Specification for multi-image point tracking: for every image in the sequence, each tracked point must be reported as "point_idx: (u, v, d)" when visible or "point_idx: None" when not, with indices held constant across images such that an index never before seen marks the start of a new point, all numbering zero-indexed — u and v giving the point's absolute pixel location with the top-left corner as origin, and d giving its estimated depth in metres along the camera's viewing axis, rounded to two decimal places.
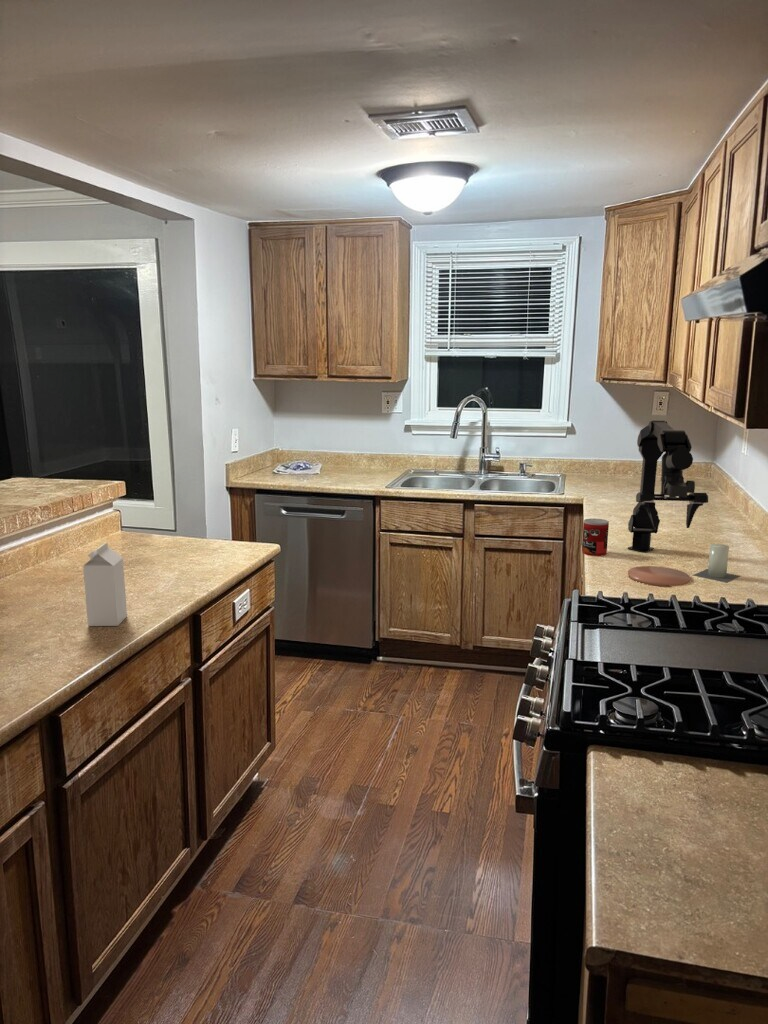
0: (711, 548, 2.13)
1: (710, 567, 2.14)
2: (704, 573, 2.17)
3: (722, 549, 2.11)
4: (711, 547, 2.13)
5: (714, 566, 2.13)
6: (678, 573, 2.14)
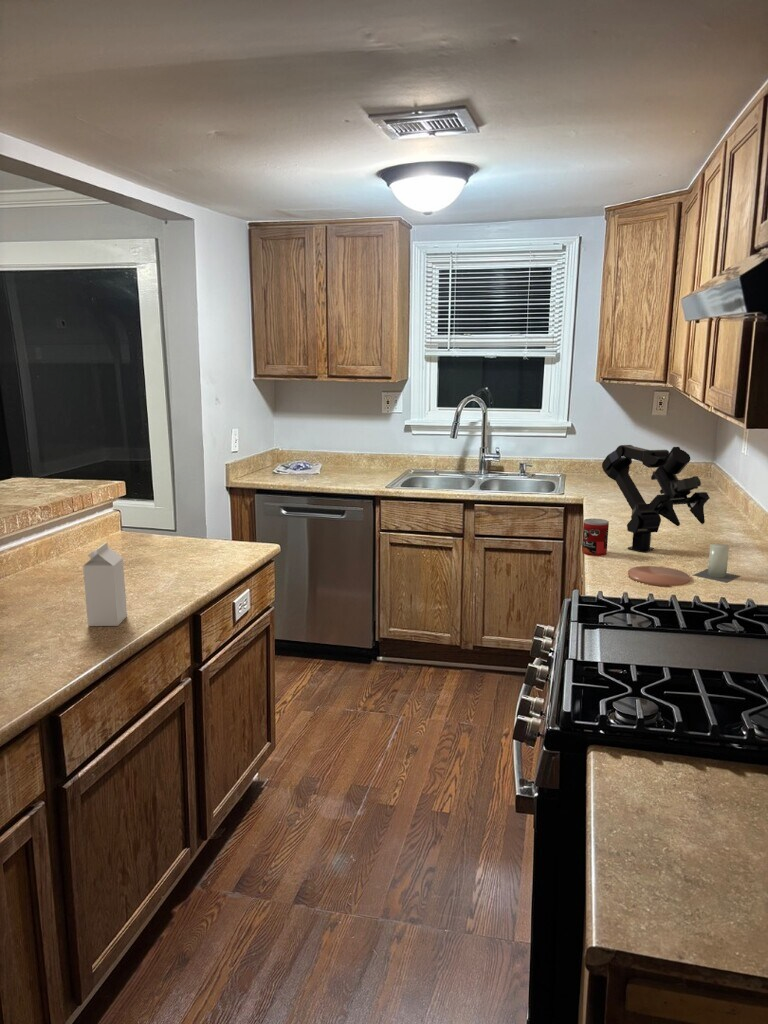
0: (711, 548, 2.13)
1: (710, 567, 2.14)
2: (704, 573, 2.17)
3: (722, 549, 2.11)
4: (711, 547, 2.13)
5: (714, 566, 2.13)
6: (678, 573, 2.14)
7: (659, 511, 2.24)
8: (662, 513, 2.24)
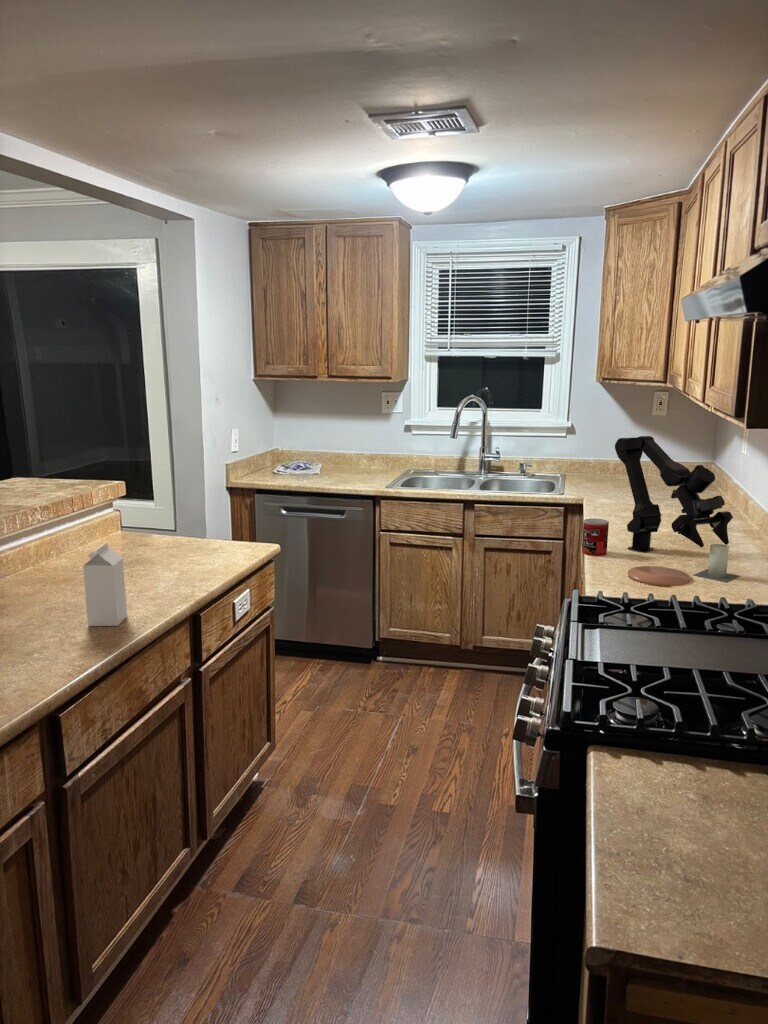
0: (711, 548, 2.13)
1: (710, 567, 2.14)
2: (704, 573, 2.17)
3: (722, 549, 2.11)
4: (711, 547, 2.13)
5: (714, 566, 2.13)
6: (678, 573, 2.14)
7: (682, 532, 2.17)
8: (685, 534, 2.17)
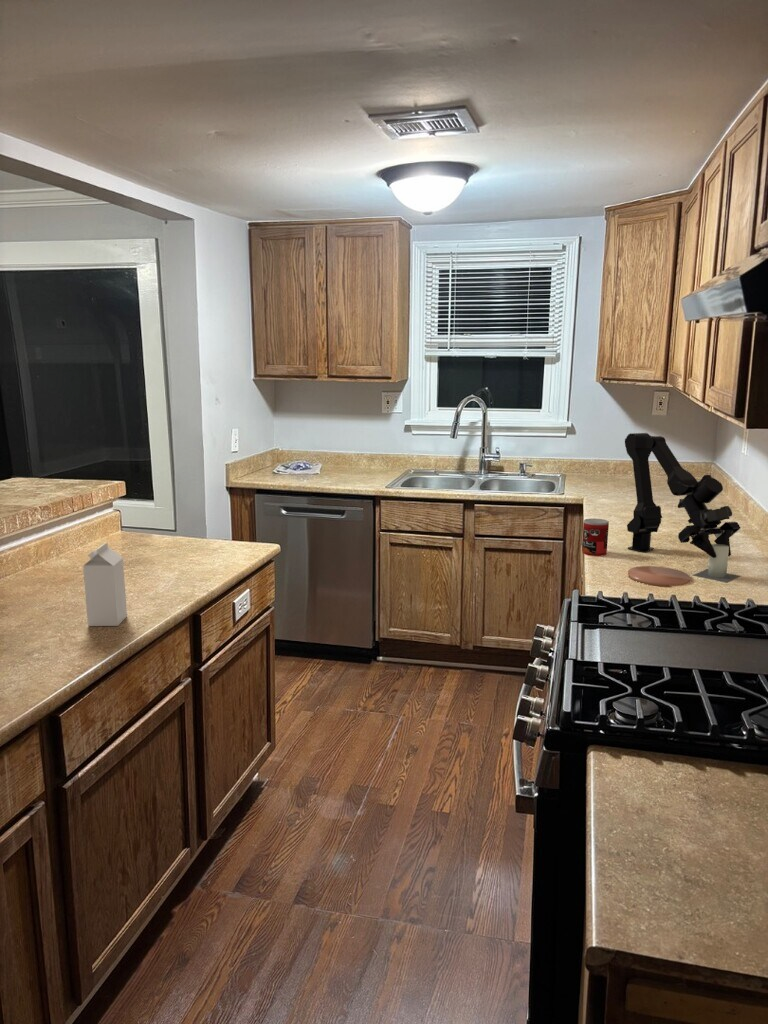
0: None
1: (710, 567, 2.14)
2: (704, 573, 2.17)
3: (722, 549, 2.11)
4: None
5: (714, 566, 2.13)
6: (678, 573, 2.14)
7: (694, 542, 2.16)
8: (697, 544, 2.16)
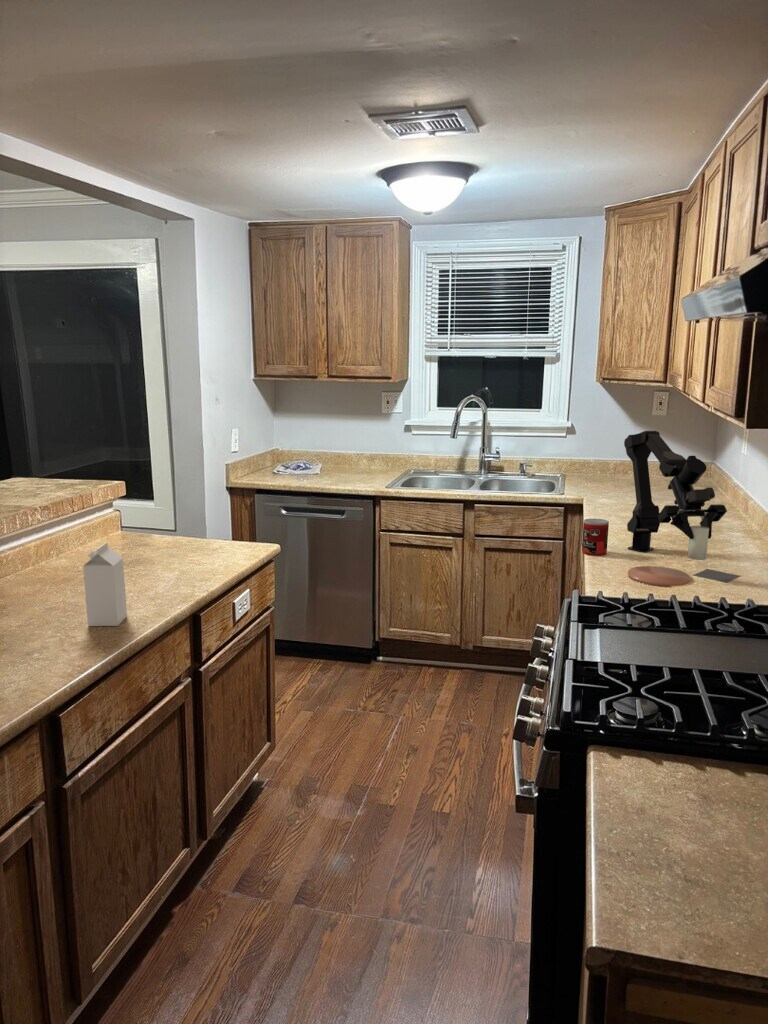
0: None
1: (689, 548, 2.12)
2: (704, 573, 2.17)
3: (700, 530, 2.08)
4: None
5: (692, 548, 2.10)
6: (678, 573, 2.14)
7: (674, 522, 2.14)
8: (677, 525, 2.14)
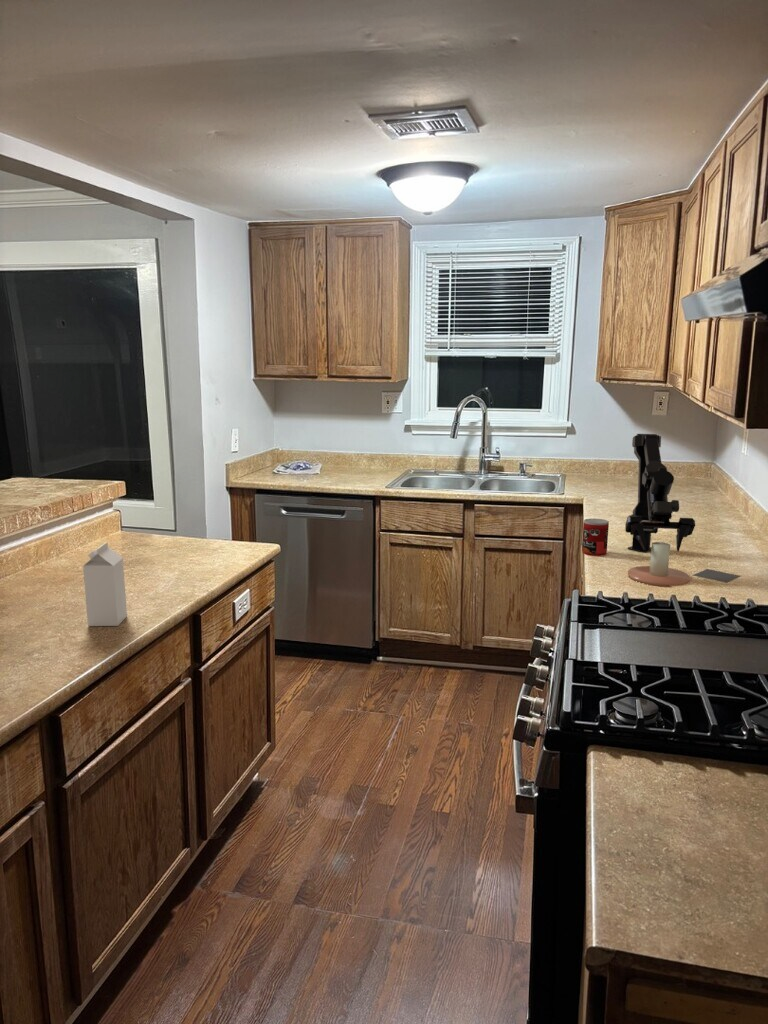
0: None
1: (650, 564, 2.14)
2: (704, 573, 2.17)
3: (658, 547, 2.10)
4: (652, 544, 2.13)
5: (652, 564, 2.12)
6: (678, 573, 2.14)
7: (633, 532, 2.17)
8: (636, 535, 2.17)
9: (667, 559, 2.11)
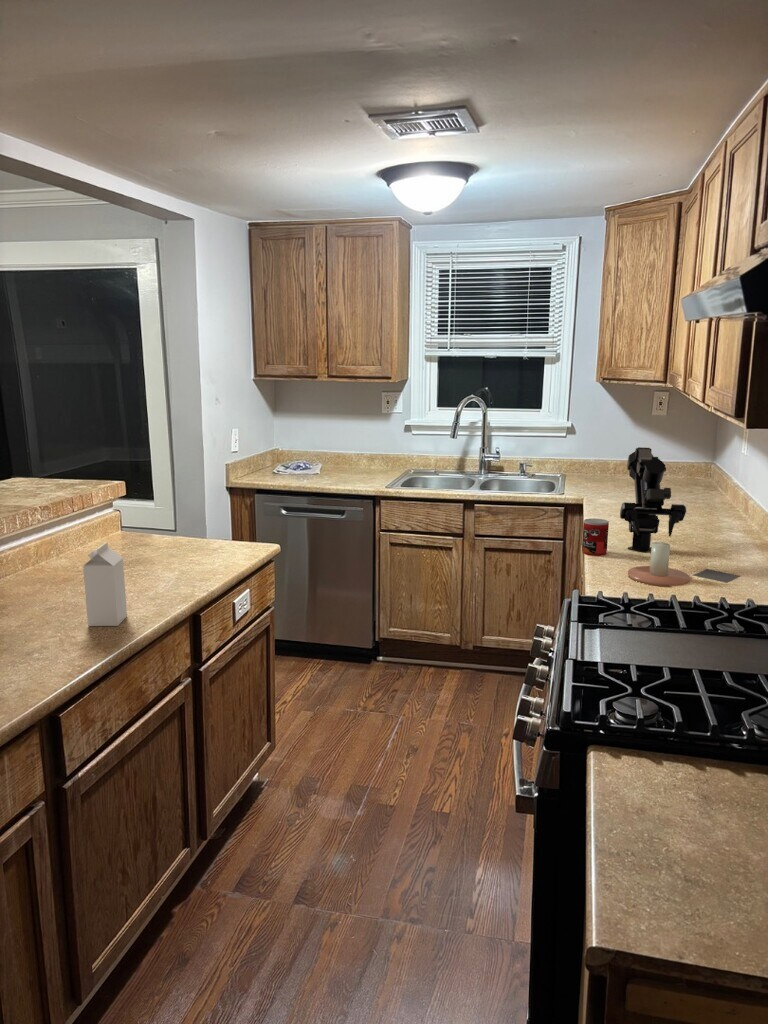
0: None
1: (650, 564, 2.14)
2: (704, 573, 2.17)
3: (658, 547, 2.10)
4: (652, 544, 2.13)
5: (652, 564, 2.12)
6: (678, 573, 2.14)
7: (627, 519, 2.28)
8: (630, 521, 2.27)
9: (667, 559, 2.11)
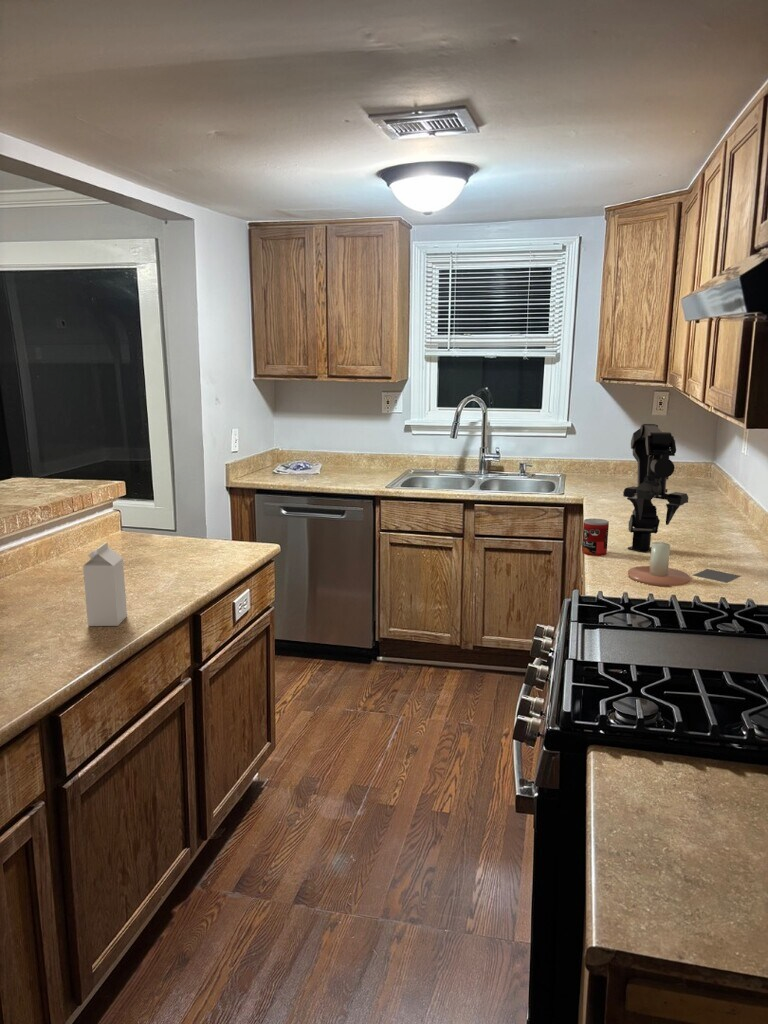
0: None
1: (650, 564, 2.14)
2: (704, 573, 2.17)
3: (658, 547, 2.10)
4: (652, 544, 2.13)
5: (652, 564, 2.12)
6: (678, 573, 2.14)
7: None
8: None
9: (667, 559, 2.11)
